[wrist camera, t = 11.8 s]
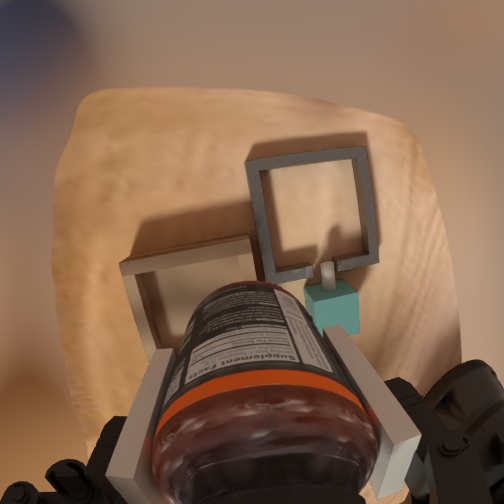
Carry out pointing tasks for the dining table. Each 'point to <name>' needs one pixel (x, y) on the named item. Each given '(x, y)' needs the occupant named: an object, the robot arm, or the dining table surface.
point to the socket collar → (364, 204)
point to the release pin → (333, 302)
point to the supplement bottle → (260, 409)
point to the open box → (181, 285)
